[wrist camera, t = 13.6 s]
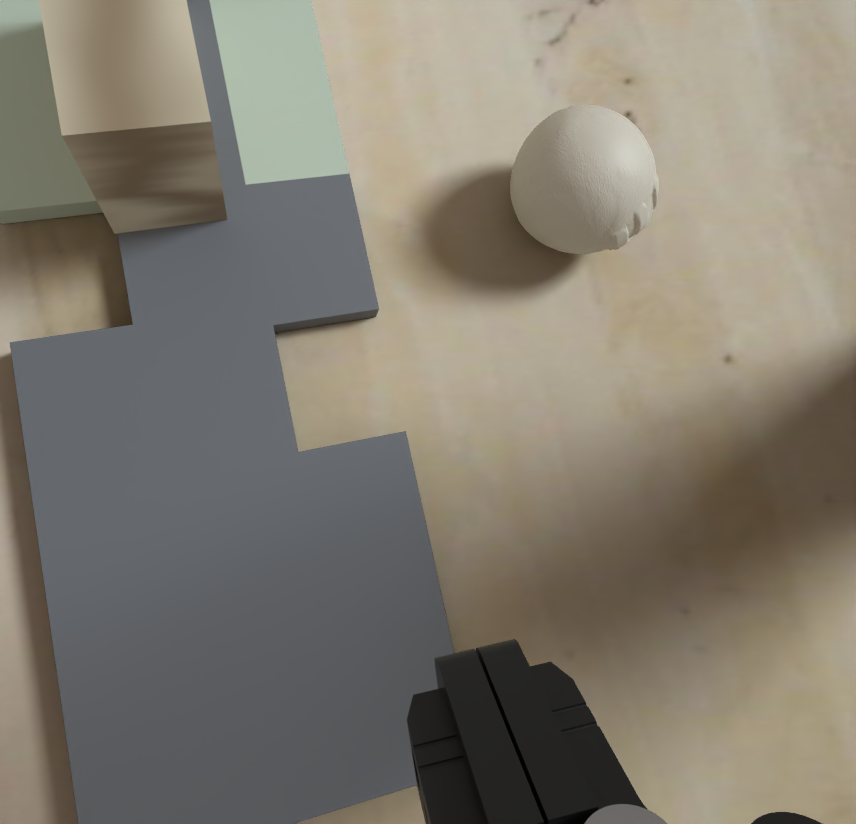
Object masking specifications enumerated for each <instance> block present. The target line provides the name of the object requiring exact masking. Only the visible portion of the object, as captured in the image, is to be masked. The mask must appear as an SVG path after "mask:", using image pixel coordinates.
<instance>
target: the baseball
mask: <svg viewBox="0 0 856 824" xmlns="http://www.w3.org/2000/svg"><path fill="white" fill-rule="evenodd" d="M510 181H511V182H510V196H511V201H512V204H513V207H514V211H515V213H516V216H517V218H518V220H519V222H520V223H521V225H522V226H523V227H524V229H525V230H526V231H527V232H528V233H529V234H530V235H531V236H532V237H534V238H535V239H536V240H537V241H539V242H540V243H542V244H544V245H546V246H548V247H550V248H553V249H555V250H557V251H561V252H566V253H571V254H590V253H595V252H599V251H603V250H605V249H609V250H612V249H614V250H615V249H619V248H620V247H622V246H623V245H625V244H626V243H628V242H629V241H630V240H631V239H632V238H633V237H634V236H635V235H637V234H638V233H639V232H641V231H642V230H643V229H644V228H645V227H646V225H647V224H648V223H649V220H650V218H651V215H652V211H653V210H654V209H655V207H656V204H657V197H658V191H659V182H658V177H657V175H656V170H655V161H654V156H653V153H652V151H651V149H650V147H649V145H648V143H647V141H646V139H645V137H644V136H643V134H642V133H641V132H640V130H639V129H638V128H637V127H636V126H635V125H634V124H633V123H632V122H631V121H629V120H628V119H627V118H626V117H624V116H623V115H621V114H619V113H617V112H615V111H613V110H610V109H608V108H604V107H601V106H595V105H576V106H571V107H568V108H565V109H562V110H560V111H557V112H555V113H553V114H552V115H550V116H549V117H547V118H546V119H545V120H543V121H542V122H541V123H540V124H539V125H537V126H536V127H535V128H534V130H533V131H532V132H531V133H530V135H529V136H528V137H527V138H526V140H525V142H524V143H523V145H522V147H521V149H520V150H519V152H518V155H517V157H516V160H515V163H514V165H513V168H512V173H511V180H510Z"/></svg>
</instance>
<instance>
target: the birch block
mask: <svg viewBox="0 0 856 824" xmlns="http://www.w3.org/2000/svg"><path fill="white" fill-rule="evenodd" d="M39 5H40V11H41V17H42V22H43V28H44V34H45V40H46V46H47V52H48V58H49V63H50V69H51V75H52V81H53V87H54V93H55V99H56V104H57V110H58V116H59V122H60V128H61V134H62V137H63V139H64V141H65V142H66V144H67V146H68V148H69V150H70V152H71V154H72V156H73V157H74V159H75V161H76V163H77V165H78V167H79V169H80V170H81V172H82V174H83V176H84V178H85V180H86V182H87V184H88V185H89V187H90V189H91V191H92V193H93V195H94V197H95V198H96V200H97V202H98V204H99V206H100V208H101V210H102V211H103V213H104V215H105V217H106V219H107V221H108V223H109V225H110V226H111V228H112V230H113V232H114V234H118V233H125V232H133V231H141V230H149V229H157V228H165V227H173V226H181V225H189V224H197V223H204V222H212V221H220V220H227V214H226V208H225V202H224V196H223V190H222V184H221V178H220V172H219V166H218V160H217V154H216V148H215V142H214V136H213V130H212V124H211V119H210V114H209V109H208V104H207V99H206V94H205V89H204V84H203V79H202V75H201V70H200V65H199V60H198V55H197V50H196V45H195V40H194V35H193V30H192V25H191V20H190V15H189V10H188V5H187V0H39Z"/></svg>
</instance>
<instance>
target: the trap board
mask: <svg viewBox="0 0 856 824" xmlns="http://www.w3.org/2000/svg"><path fill="white" fill-rule="evenodd" d="M187 5H188V10H189V15H190V20H191V25H192V30H193V35H194V40H195V45H196V50H197V55H198V60H199V65H200V70H201V75H202V79H203V84H204V89H205V94H206V99H207V104H208V109H209V114H210V119H211V124H212V130H213V136H214V142H215V148H216V154H217V160H218V166H219V172H220V178H221V184H222V190H223V196H224V202H225V208H226V214H227V220H220V221H212V222H204V223H197V224H189V225H181V226H173V227H165V228H157V229H149V230H141V231H133V232H125V233H118V240H119V246H120V251H121V257H122V263H123V269H124V275H125V281H126V287H127V293H128V299H129V305H130V311H131V317H132V323H133V325H126V326H119V327H113V328H106V329H99V330H92V331H85V332H78V333H72V334H65V335H58V336H51V337H44V338H37V339H31V340H24V341H17V342H10V348H11V355H12V362H13V369H14V376H15V383H16V390H17V397H18V404H19V411H20V418H21V425H22V432H23V439H24V446H25V453H26V460H27V467H28V474H29V481H30V488H31V495H32V502H33V509H34V516H35V523H36V530H37V537H38V544H39V551H40V558H41V565H42V572H43V579H44V586H45V593H46V600H47V607H48V614H49V621H50V628H51V635H52V642H53V649H54V656H55V663H56V670H57V677H58V684H59V691H60V698H61V705H62V712H63V719H64V726H65V733H66V740H67V747H68V754H69V761H70V769H71V776H72V783H73V790H74V797H75V804H76V811H77V818H78V824H294V823H297V822H300V821H303V820H306V819H310V818H313V817H316V816H319V815H322V814H325V813H329V812H332V811H335V810H338V809H341V808H345V807H348V806H351V805H354V804H357V803H361V802H364V801H367V800H370V799H373V798H377V797H380V796H383V795H386V794H389V793H393V792H396V791H399V790H402V789H405V788H409V787H412V786H415V785H417V782H416V776H415V769H414V763H413V757H412V750H411V744H410V738H409V731H408V725H407V717H408V713H409V709H410V705H411V701H412V697H413V695H414V694H418V693H423V692H427V691H431V690H435V689H438V684H437V677H436V669H435V658H437V657H441V656H445V655H450V654H454V649H453V645H452V640H451V636H450V631H449V627H448V622H447V617H446V613H445V608H444V604H443V599H442V595H441V590H440V585H439V581H438V576H437V572H436V567H435V563H434V558H433V553H432V549H431V544H430V540H429V535H428V531H427V526H426V521H425V517H424V512H423V508H422V503H421V499H420V494H419V489H418V485H417V480H416V476H415V471H414V467H413V462H412V458H411V453H410V448H409V444H408V439H407V435H406V431H404V432H399V433H394V434H389V435H384V436H379V437H373V438H368V439H363V440H358V441H353V442H348V443H343V444H338V445H332V446H327V447H322V448H317V449H312V450H307V451H302V452H298V448H297V443H296V438H295V433H294V428H293V423H292V418H291V413H290V407H289V402H288V397H287V392H286V387H285V382H284V377H283V372H282V367H281V362H280V357H279V352H278V346H277V341H276V336H275V332H281V331H287V330H294V329H300V328H307V327H313V326H319V325H326V324H332V323H339V322H345V321H352V320H358V319H364V318H371V317H376V315H377V313H378V310H379V307H378V302H377V298H376V293H375V289H374V284H373V279H372V275H371V270H370V266H369V261H368V257H367V252H366V247H365V243H364V238H363V234H362V229H361V225H360V220H359V215H358V211H357V206H356V202H355V197H354V193H353V188H352V183H351V179H350V174H349V170H348V165H347V161H346V156H345V152H344V147H343V142H342V138H341V133H340V129H339V124H338V120H337V115H336V110H335V106H334V101H333V97H332V92H331V88H330V83H329V78H328V74H327V69H326V65H325V60H324V56H323V51H322V46H321V42H320V37H319V33H318V28H317V24H316V19H315V14H314V10H313V5H312V1H311V0H187ZM96 213H103V211H102V210H101V208H100V206H99V204H98V202H97V200H96V198H95V197H94V195H93V193H92V191H91V189H90V187H89V185H88V184H87V182H86V180H85V178H84V176H83V174H82V172H81V170H80V169H79V167H78V165H77V163H76V161H75V159H74V157H73V156H72V154H71V152H70V150H69V148H68V146H67V144H66V142H65V141H64V139H63V137H62V134H61V128H60V122H59V116H58V110H57V104H56V99H55V93H54V87H53V81H52V75H51V69H50V63H49V58H48V52H47V46H46V40H45V34H44V28H43V22H42V17H41V11H40V5H39V0H0V223H1V224H6V223H15V222H24V221H33V220H42V219H51V218H60V217H69V216H78V215H87V214H96Z"/></svg>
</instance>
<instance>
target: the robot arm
mask: <svg viewBox="0 0 856 824" xmlns="http://www.w3.org/2000/svg"><path fill="white" fill-rule="evenodd" d="M435 669H436V677H437V684H438V689H435V690H431V691H427V692H423V693H418V694H414V695H413V697H412V701H411V705H410V709H409V713H408V717H407V725H408V731H409V738H410V744H411V750H412V757H413V763H414V769H415V776H416V782H417V787H418V791H419V796H420V800H421V805H422V809H423V813H424V818H425V822H426V824H667V823H666V822H665V821H664V820H663V819H662V818H660V817H659V816H658V815H656V814H655V813H653V812H651V811H649V810H648V809H647V808H646V807H645V806H644V805H643V803H642V802H641V800H640V799H639V797H638V795H637V794H636V792H635V790H634V788H633V786H632V785H631V783H630V781H629V779H628V777H627V776H626V774H625V772H624V770H623V768H622V767H621V765H620V763H619V761H618V759H617V758H616V756H615V754H614V752H613V750H612V749H611V747H610V745H609V743H608V742H607V740H606V738H605V736H604V734H603V733H602V731H601V729H600V727H599V726H597V723H596V720H595V718H594V716H593V715H592V713H591V711H590V709H589V707H587V706H586V702H585V700H584V698H583V697H582V695H581V693H580V691H579V689H578V688H577V686H576V684H575V682H574V681H573V679H572V678H571V677H569V676H568V675H567V674H565V673H564V672H563V671H562V670H560V669H559V668H558V667H557V666H555V665H554V664H553V663H552V662H548V663H544V664H539V665H535V666H531V667H530V666H529V664H528V662H527V660H526V658H525V656H524V654H523V652H522V650H521V648H520V646H519V644H518V642H517V641H516V640H515V639H514V640H509V641H505V642H501V643H496V644H492V645H488V646H483V647H479V648H476V651H475V650H474V649H471V650H467V651H463V652H458V653H454V654H450V655H445V656H441V657H437V658H435ZM752 824H822V823H820V822H818V821H816V820H813V819H811V818H808V817H806V816H803V815H799V814H796V813H789V812H775V813H769V814H766V815H763V816H761V817H759V818H757V819H756V820H755V821H754V822H753V823H752Z"/></svg>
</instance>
